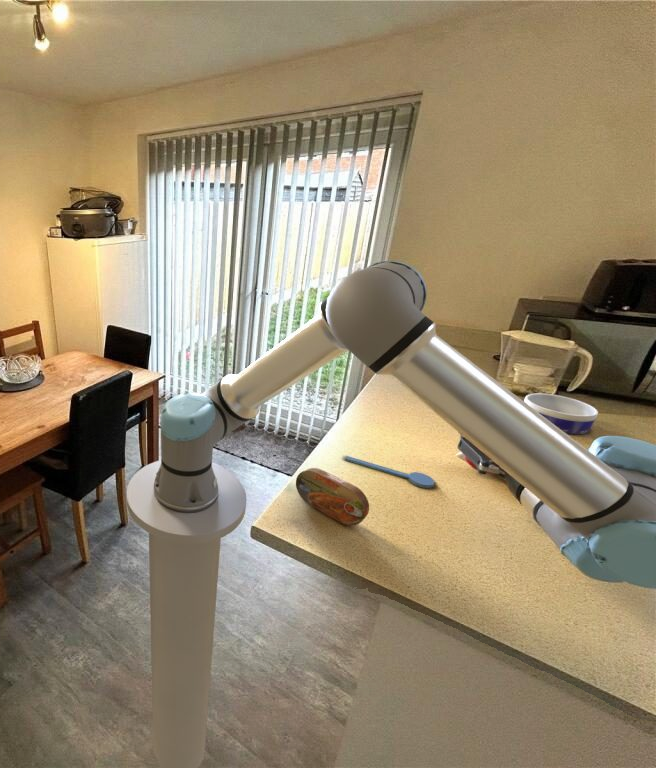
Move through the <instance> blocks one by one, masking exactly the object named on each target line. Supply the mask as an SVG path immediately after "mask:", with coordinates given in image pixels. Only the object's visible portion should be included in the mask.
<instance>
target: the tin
mask: <svg viewBox="0 0 656 768" xmlns="http://www.w3.org/2000/svg"><path fill="white" fill-rule="evenodd" d="M295 488H296V491H297V494H298V495H299V497H300V498H301V499H302V500H303V502H304V503H306V504H307V505H309V506H311V507H313V508H314V509H316V510H318V511H319V512H321V513H323V514H325V515H327V516H328V517H330V518H332V519H333V520H335V521H336V522H339V523H340V524H342V525H345V526H357V525H360V524H361V523H362V522H363V521H364V520H365V519H366V517H367V516H368V515H369V513H370V503H369V500H368V498H367V495H365V493H364V492H363V491H362V490H361V489H360V488H359V487H357V486H356V485H354V484H352V483H350V482H348V481H346V480H344V479H341V478H340V477H338V476H336V475H334V474H331V473H329V472H327V471H326V470H323V469H322V468H317V467H311V468H307V469H305V470H303V471H301V472H300V473H298V474H297V476H296V479H295Z"/></svg>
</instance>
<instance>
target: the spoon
mask: <svg viewBox="0 0 656 768" xmlns="http://www.w3.org/2000/svg"><path fill="white" fill-rule="evenodd" d="M344 461H347V462H350V463H353V464H357V465H359V466H363V467H367V468H370V469H373V470H375V471H379V472H383V473H386V474H390V475H392V476H396V477H399V478H403V479H406V480H408V481H409V482H410V483H411V484H412V485H414V486H416V487H419V488H423V489H432V488H433V487H434V485H435V480H434V478H432V477H431V476H430V475H428V474H427V473H426V474H425V473H422V472H419V471H418V472H417V471H413V472H410V473H406V472H402V471H400V470H395V469H393V468H389V467H386V466H382V465H380V464H375V463H373V462H369V461H365V460H362V459H359V458H355V457H352V456H349V455H346V456H345V458H344Z"/></svg>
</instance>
